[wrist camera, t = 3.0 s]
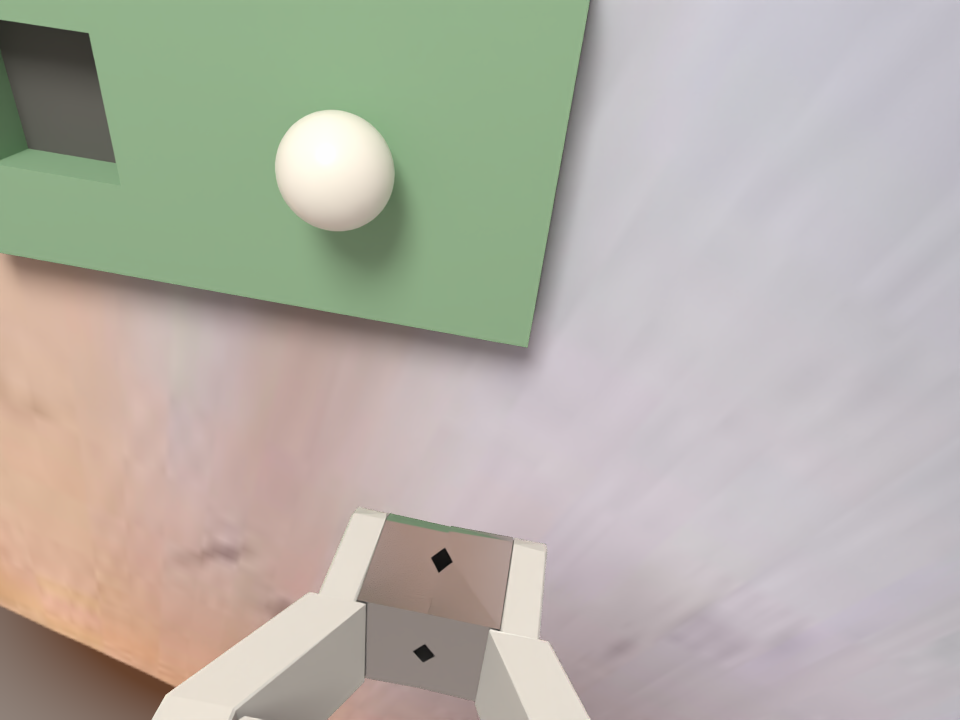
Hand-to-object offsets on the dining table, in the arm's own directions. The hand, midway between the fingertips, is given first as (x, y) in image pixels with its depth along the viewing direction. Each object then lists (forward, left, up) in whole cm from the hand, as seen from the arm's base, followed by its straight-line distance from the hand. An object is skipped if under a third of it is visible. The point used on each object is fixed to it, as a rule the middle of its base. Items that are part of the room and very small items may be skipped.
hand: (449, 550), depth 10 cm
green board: (+12, 0, -19) cm, 23 cm away
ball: (+7, 0, -15) cm, 16 cm away
